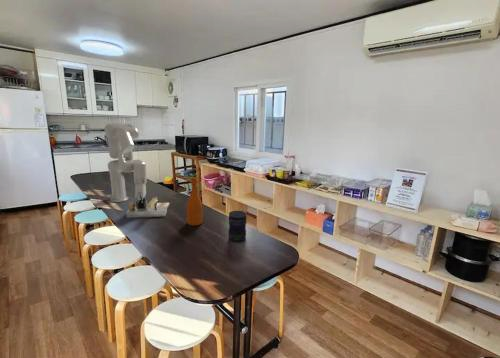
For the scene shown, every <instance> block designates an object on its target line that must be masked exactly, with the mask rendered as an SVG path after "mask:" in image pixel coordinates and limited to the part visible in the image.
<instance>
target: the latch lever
mask: <svg viewBox="0 0 500 358" xmlns="http://www.w3.org/2000/svg"><path fill="white" fill-rule="evenodd" d="M156 202H157V203H158V197H157V196H153V197H152V199H151V200H150V201H149V202H148V208H152V207H153V205H154V204H155V203H156Z"/></svg>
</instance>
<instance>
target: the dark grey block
mask: <svg viewBox="0 0 500 358" xmlns="http://www.w3.org/2000/svg"><path fill="white" fill-rule="evenodd" d="M143 203H144V208H138V199H137V200H136V202H135V207H136V208H137V209H146V208H147V207H148V203H149V202H148V199H146V198H145V199H144V200H143Z"/></svg>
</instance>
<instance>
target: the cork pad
mask: <svg viewBox="0 0 500 358" xmlns="http://www.w3.org/2000/svg"><path fill="white" fill-rule="evenodd" d="M157 206H167V209H168V208H169V206H170V202H157ZM153 207H154V205H153Z"/></svg>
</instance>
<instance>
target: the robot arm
mask: <svg viewBox="0 0 500 358" xmlns="http://www.w3.org/2000/svg"><path fill="white" fill-rule="evenodd" d="M104 133H105V135H106V136H105V137H106V138H107V143H108V144H107V145H108V153H109V157H110V159H113V160H110V161H109V162H108V163H107V169H108V172H109V178H110V188H111V194H106V198H107V199H109V201H110V202H112V203H120V202H121V203H122V202H125V201H128V200H129V196H127V192H126V181H125V176H124V175H123V174H122V173H132V172H133V183H134V184H135V185H134V192H135V193H134V194H135V195H134V197H135V199H137V200H138V208H144V203H143V200H144V199H146V195H147V185H146V184H147V181H148V178H147V166H146V165H147V164H146V162H145V161H143V160H141V159H134V158H133V155H134V154H133V150H134V148H135V144H134V141H133V140H135V139H138V138H139V136H140V133H139V130H138V129H137V126H134V125H132V124H130V123H108V124H106V125H105V126H104Z"/></svg>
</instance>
